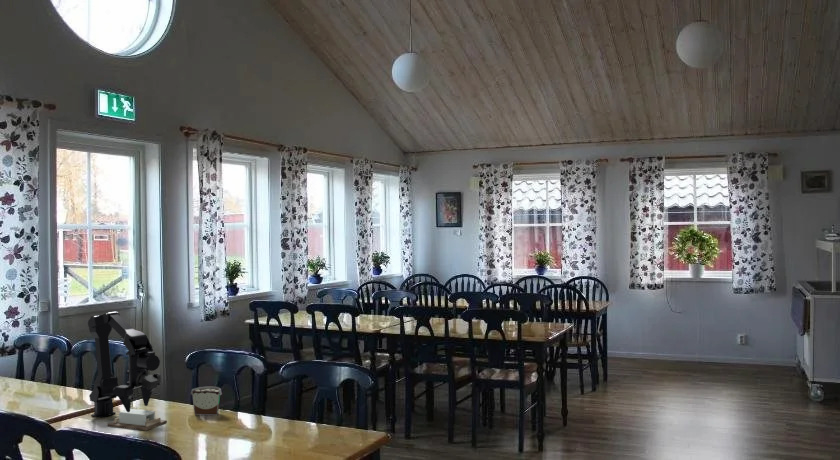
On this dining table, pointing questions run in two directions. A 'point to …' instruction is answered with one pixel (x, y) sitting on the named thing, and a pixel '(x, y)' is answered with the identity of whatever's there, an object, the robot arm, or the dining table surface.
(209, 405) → the food container
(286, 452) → the dining table surface
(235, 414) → the dining table surface
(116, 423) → the dock
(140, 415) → the shell
